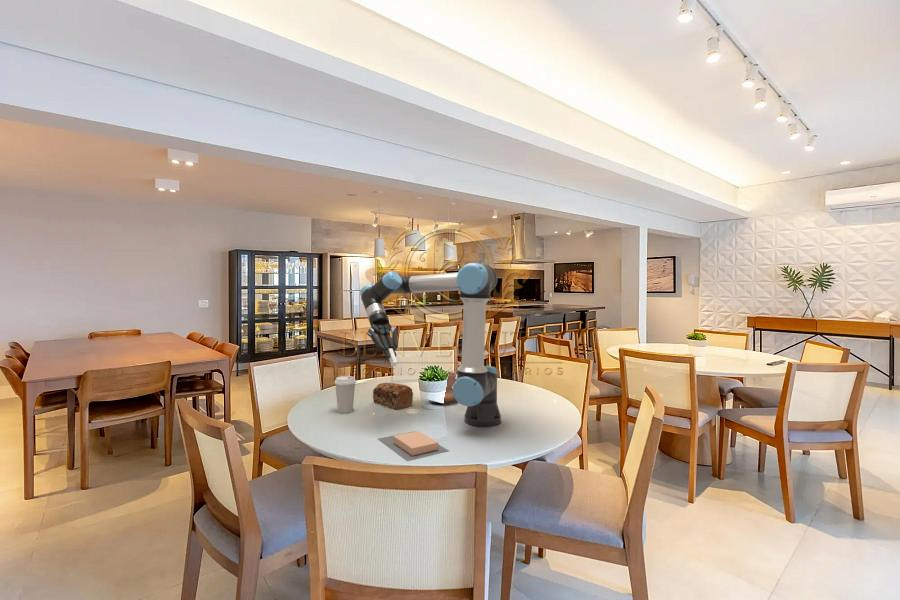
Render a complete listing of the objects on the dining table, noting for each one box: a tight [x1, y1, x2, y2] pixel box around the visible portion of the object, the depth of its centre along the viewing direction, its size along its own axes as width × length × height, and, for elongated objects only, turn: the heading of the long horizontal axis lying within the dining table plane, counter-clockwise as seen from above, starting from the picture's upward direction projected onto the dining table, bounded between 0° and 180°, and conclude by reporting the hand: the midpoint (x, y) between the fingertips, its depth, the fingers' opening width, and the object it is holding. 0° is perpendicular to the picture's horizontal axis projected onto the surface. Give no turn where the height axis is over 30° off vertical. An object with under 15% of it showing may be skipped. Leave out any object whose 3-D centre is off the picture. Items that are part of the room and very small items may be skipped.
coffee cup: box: [333, 375, 357, 414], centre depth 193 cm, size 10×10×15 cm
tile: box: [392, 430, 439, 456], centre depth 148 cm, size 3×10×14 cm
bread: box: [372, 382, 414, 410], centre depth 205 cm, size 19×11×10 cm, turn 44°
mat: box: [377, 430, 450, 462], centre depth 151 cm, size 24×16×1 cm, turn 33°
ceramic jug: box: [444, 370, 457, 405], centre depth 209 cm, size 18×14×14 cm
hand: (394, 364), depth 164 cm, fingers closed
